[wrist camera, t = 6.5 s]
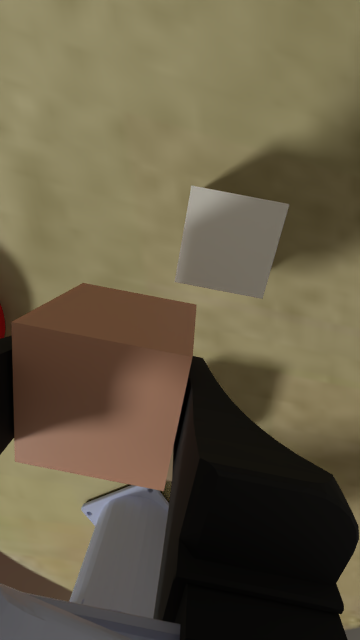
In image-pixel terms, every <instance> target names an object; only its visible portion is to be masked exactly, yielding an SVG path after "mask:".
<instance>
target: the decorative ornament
mask: <svg viewBox="0 0 360 640" xmlns="http://www.w3.org/2000/svg"><path fill="white" fill-rule="evenodd" d="M4 335H5V319H4V314H3V310H2V307H1V304H0V339H1V338H4Z"/></svg>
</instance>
